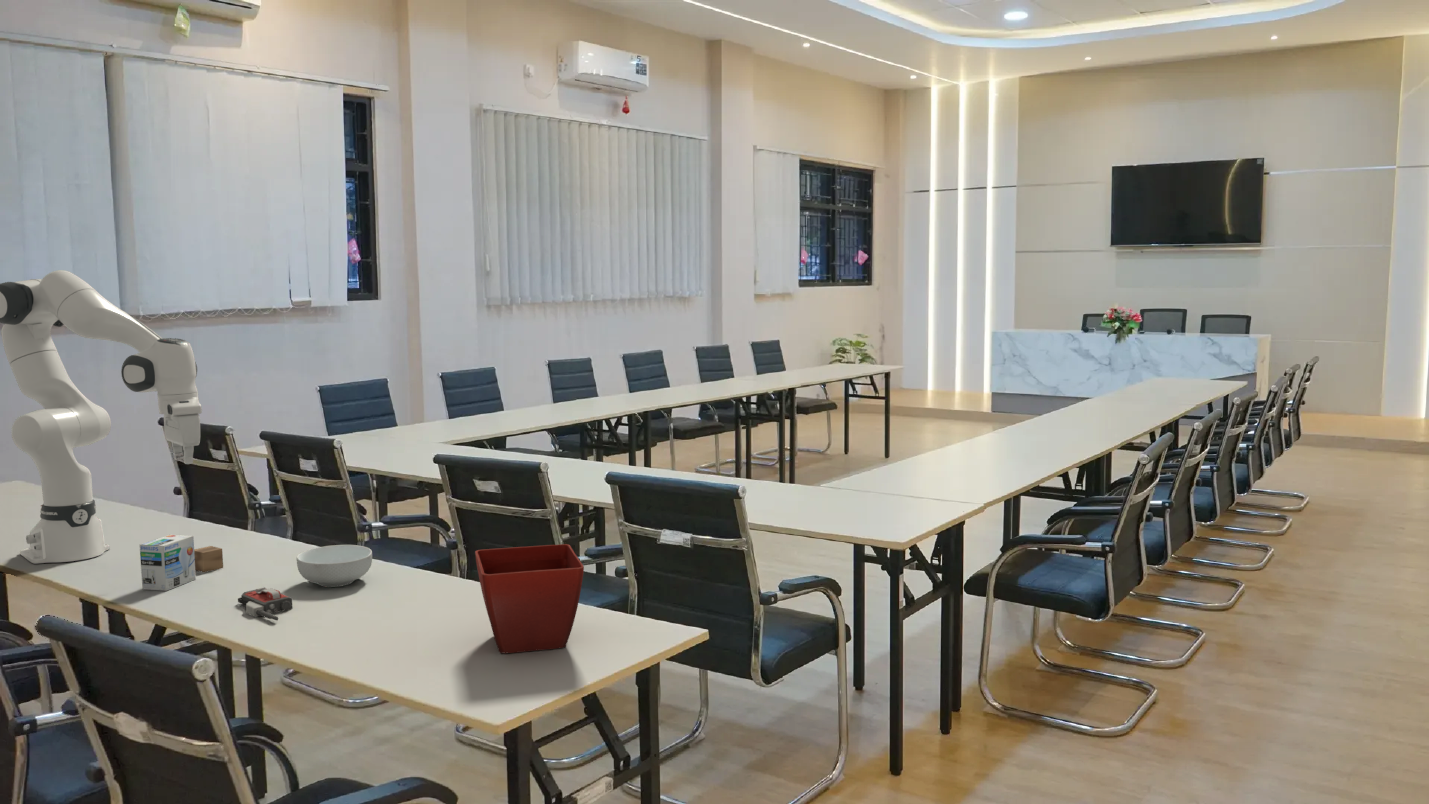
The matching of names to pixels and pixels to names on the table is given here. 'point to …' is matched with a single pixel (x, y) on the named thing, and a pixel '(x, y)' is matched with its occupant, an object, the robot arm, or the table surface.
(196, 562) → the walnut cube
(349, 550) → the cereal bowl
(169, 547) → the light bulb box
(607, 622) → the table surface
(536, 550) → the plant pot
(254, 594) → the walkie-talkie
